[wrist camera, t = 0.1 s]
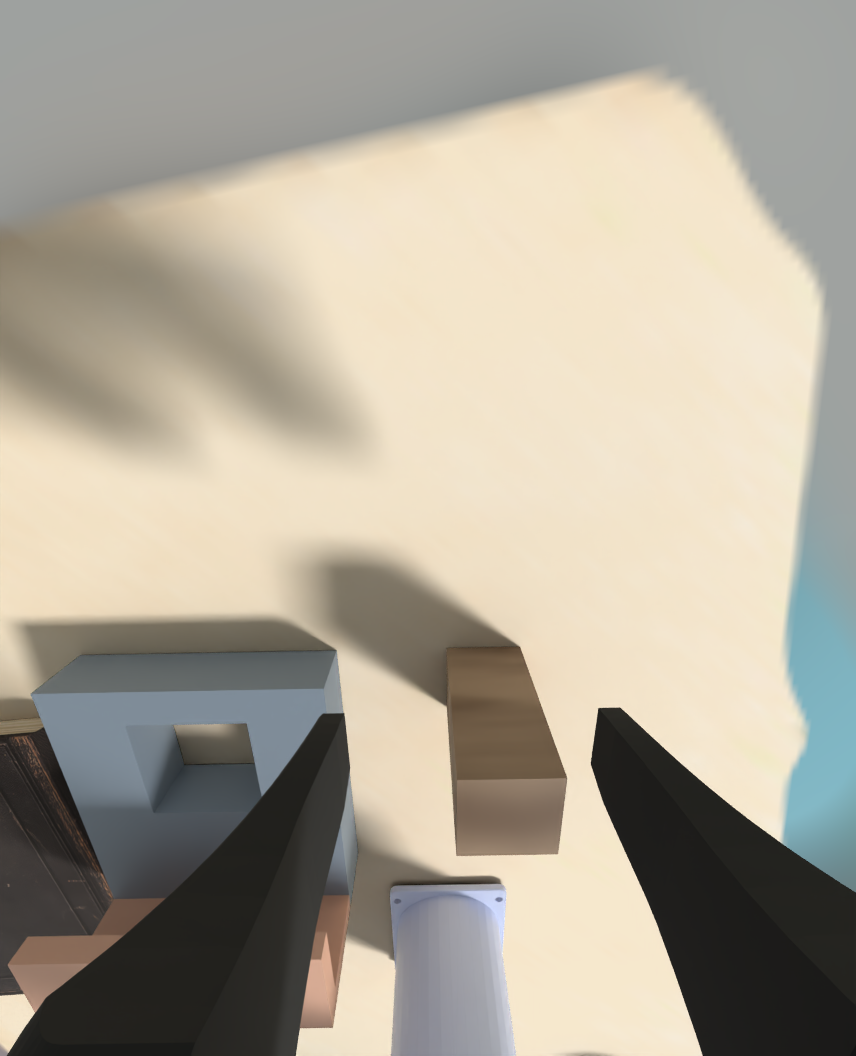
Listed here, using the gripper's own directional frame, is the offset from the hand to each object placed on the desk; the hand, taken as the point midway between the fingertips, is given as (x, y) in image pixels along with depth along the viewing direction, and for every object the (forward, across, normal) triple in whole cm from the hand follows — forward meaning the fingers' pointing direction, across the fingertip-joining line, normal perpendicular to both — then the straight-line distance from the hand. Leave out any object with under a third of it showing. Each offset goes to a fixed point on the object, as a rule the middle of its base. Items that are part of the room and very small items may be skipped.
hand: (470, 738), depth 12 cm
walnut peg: (+10, -2, +6) cm, 12 cm away
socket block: (+10, +13, +12) cm, 21 cm away
